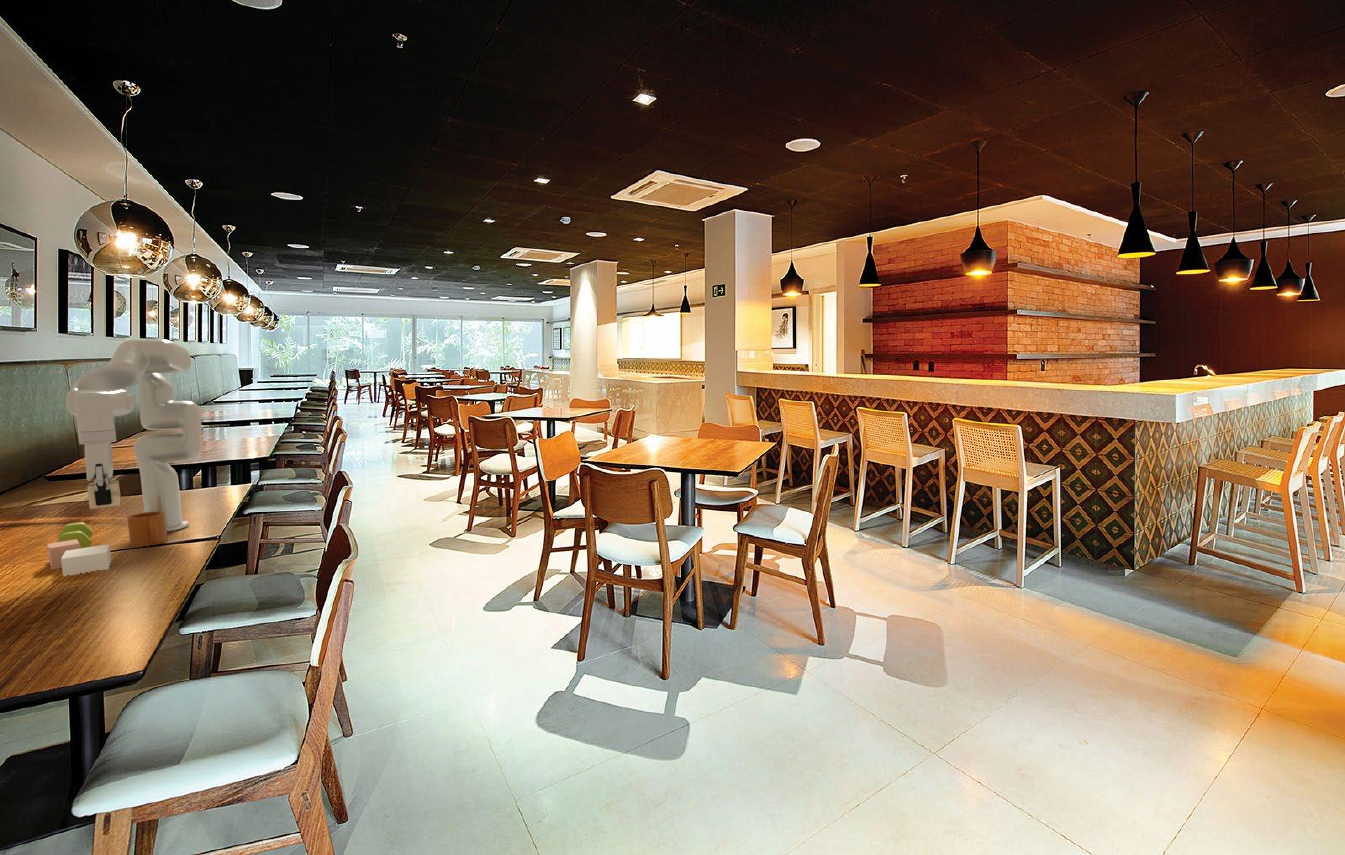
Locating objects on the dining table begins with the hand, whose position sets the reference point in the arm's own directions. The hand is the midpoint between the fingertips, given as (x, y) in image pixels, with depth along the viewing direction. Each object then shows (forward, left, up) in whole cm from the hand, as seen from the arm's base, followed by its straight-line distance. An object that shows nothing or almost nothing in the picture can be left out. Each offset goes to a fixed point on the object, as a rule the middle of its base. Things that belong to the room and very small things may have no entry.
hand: (105, 501), depth 174 cm
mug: (-18, +7, -18) cm, 26 cm away
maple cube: (0, 0, -1) cm, 1 cm away
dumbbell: (-23, -10, -18) cm, 31 cm away
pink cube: (-8, -10, -18) cm, 22 cm away
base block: (0, -5, -18) cm, 19 cm away
